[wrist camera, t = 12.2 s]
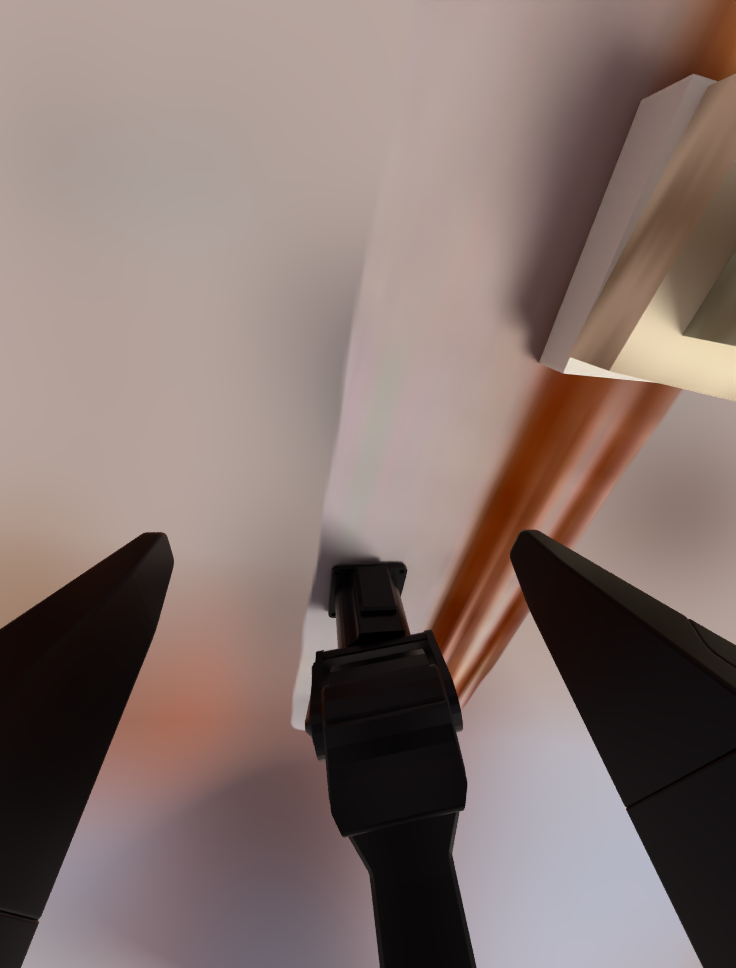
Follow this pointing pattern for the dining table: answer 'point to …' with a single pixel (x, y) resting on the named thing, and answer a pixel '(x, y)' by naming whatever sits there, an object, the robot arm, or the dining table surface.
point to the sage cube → (717, 310)
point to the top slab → (674, 264)
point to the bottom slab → (622, 214)
